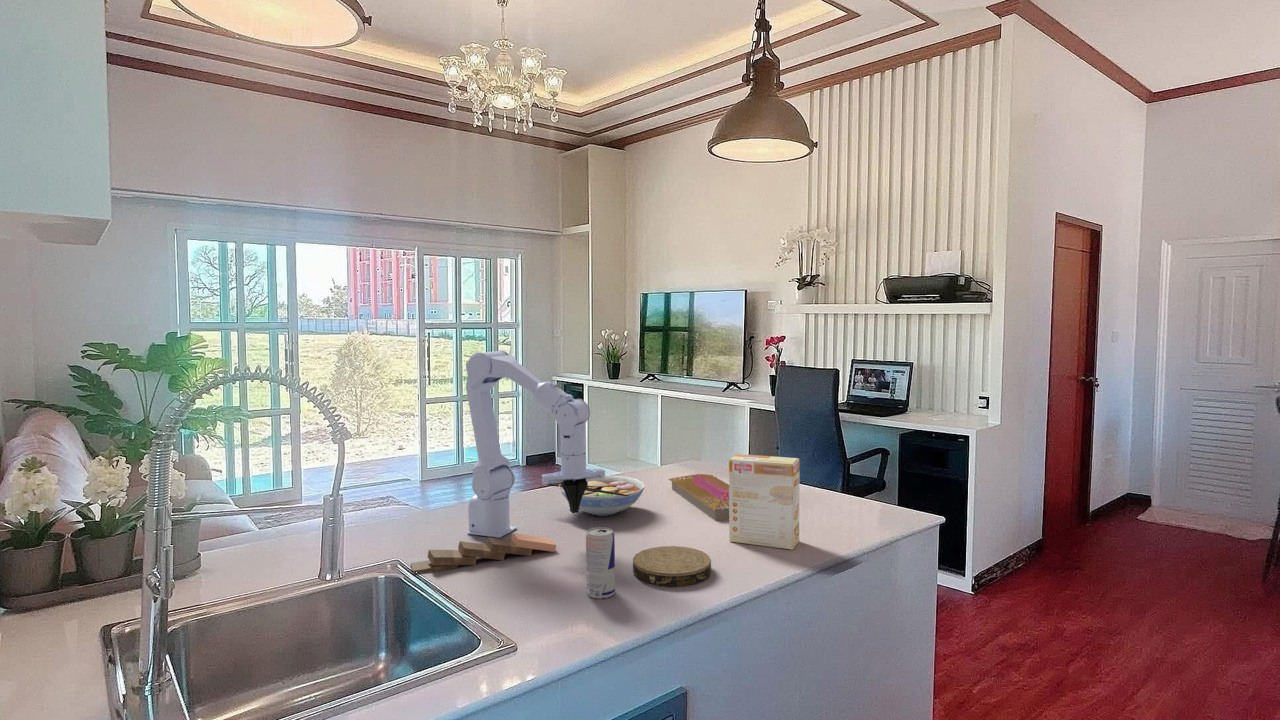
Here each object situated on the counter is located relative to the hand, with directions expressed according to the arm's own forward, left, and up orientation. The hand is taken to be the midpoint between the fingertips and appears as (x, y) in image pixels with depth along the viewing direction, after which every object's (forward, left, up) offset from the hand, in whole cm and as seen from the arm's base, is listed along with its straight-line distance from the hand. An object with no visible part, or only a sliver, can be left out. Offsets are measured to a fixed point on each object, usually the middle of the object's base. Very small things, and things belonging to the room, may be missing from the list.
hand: (574, 511), depth 158 cm
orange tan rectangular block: (-4, -4, -7) cm, 9 cm away
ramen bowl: (-5, +26, -8) cm, 27 cm away
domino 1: (-18, -19, -8) cm, 28 cm away
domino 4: (-7, -8, -7) cm, 13 cm away
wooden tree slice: (+26, -8, -8) cm, 29 cm away
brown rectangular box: (+20, +45, -8) cm, 50 cm away
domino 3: (-12, -12, -7) cm, 18 cm away
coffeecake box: (+40, +17, -8) cm, 44 cm away
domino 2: (-16, -17, -7) cm, 24 cm away
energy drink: (+17, -23, -8) cm, 30 cm away
